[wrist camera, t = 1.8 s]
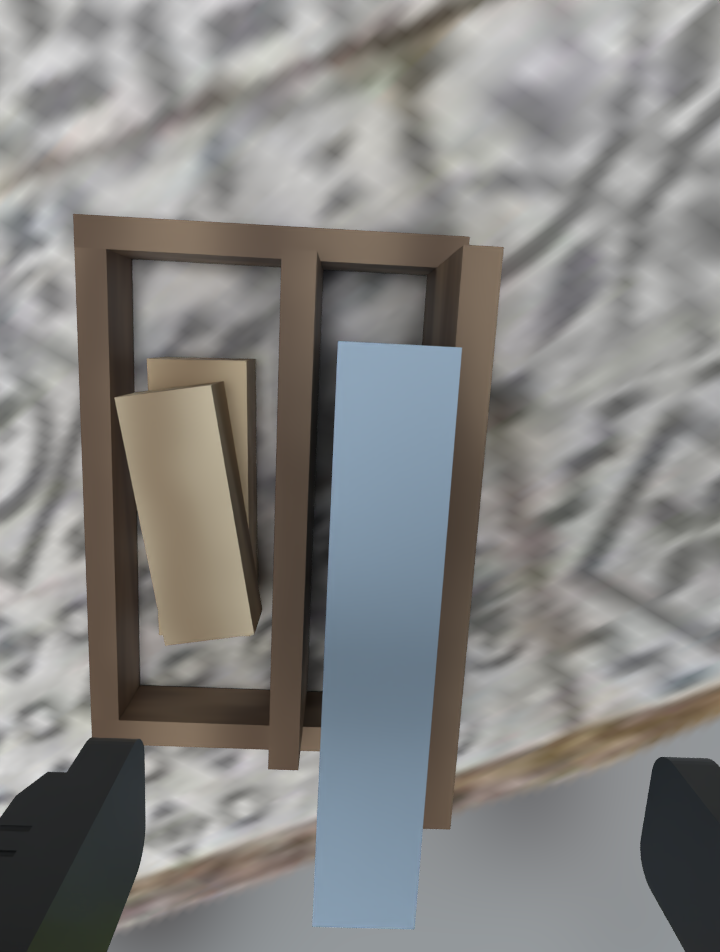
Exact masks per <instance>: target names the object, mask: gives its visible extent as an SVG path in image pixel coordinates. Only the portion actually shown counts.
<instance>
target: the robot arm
mask: <svg viewBox="0 0 720 952" xmlns="http://www.w3.org/2000/svg"><path fill="white" fill-rule="evenodd" d="M144 839H145V762H144V745H143V742H142V740H141V739H127V738H96V737H92V738H90V739H89V740H88V741H87V742H86V743H85V745H84V746H83V748H82V749H81V751H80V753H79V754H78V756H77V757H76V759H75V760H74V762H73V764H72V765H71V767H70V768H69V770H68V771H67V773H64V772H47V773H46V774H44V775H43V776H42V777H40V778H39V779H38V780H36V781H35V782H34V783H32V784H31V785H30V786H28V787H27V788H26V789H24V790H23V791H22V792H20V793H19V794H18V795H16V796H15V798H14V799H13V801H12V802H11V803H10V805H9V806H8V808H7V809H6V810H5V812H4V813H3V815H2V816H1V817H0V952H107V950H108V947H109V945H110V942H111V940H112V937H113V935H114V932H115V929H116V927H117V924H118V922H119V919H120V916H121V914H122V911H123V909H124V906H125V903H126V901H127V898H128V896H129V893H130V890H131V888H132V885H133V883H134V880H135V877H136V875H137V872H138V869H139V865H140V861H141V857H142V852H143V846H144ZM640 844H641V845H640V846H641V847H640V851H641V861H642V867H643V871H644V874H645V878H646V881H647V883H648V885H649V887H650V889H651V891H652V893H653V895H654V896H655V898H656V900H657V902H658V904H659V906H660V907H661V909H662V911H663V913H664V915H665V916H666V918H667V920H668V921H669V923H670V925H671V927H672V929H673V931H674V932H675V934H676V936H677V938H678V939H679V941H680V943H681V945H682V947H683V948H684V950H685V952H720V767H719V766H718V765H717V764H716V763H715V762H714V761H712V760H710V759H707V758H705V759H704V758H677V757H660V758H658V759H657V760H656V762H655V763H654V766H653V769H652V775H651V780H650V787H649V793H648V799H647V805H646V811H645V817H644V823H643V829H642V836H641V843H640Z"/></svg>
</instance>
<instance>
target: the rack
mask: <svg viewBox="0 0 720 952" xmlns="http://www.w3.org/2000/svg"><path fill="white" fill-rule="evenodd" d="M73 220H74V248H75V276H76V304H77V332H78V360H79V388H80V416H81V444H82V471H83V499H84V527H85V555H86V583H87V611H88V639H89V667H90V694H91V722H92V737H96V738H127V739H141V740H142V742H143V745H149V746H179V747H208V748H238V749H267V750H269V760H268V769H278V770H298V767H299V758H300V751H320V741H321V718H322V696H323V692H308V691H307V682H308V656H309V630H310V604H311V578H312V552H313V526H314V500H315V474H316V448H317V422H318V395H319V369H320V343H321V317H322V291H323V270H340V271H358V272H376V273H394V274H411V275H427V283H426V298H425V312H424V327H423V341H422V345H423V346H442V347H461V348H462V355H461V367H460V379H459V391H458V404H457V416H456V428H455V440H454V452H453V465H452V477H451V489H450V501H449V514H448V526H447V538H446V550H445V563H444V575H443V587H442V599H441V611H440V624H439V636H438V648H437V660H436V673H435V685H434V697H433V709H432V722H431V734H430V746H429V758H428V771H427V783H426V795H425V807H424V819H423V829H450V826H451V815H452V804H453V793H454V783H455V772H456V761H457V750H458V739H459V728H460V717H461V706H462V695H463V684H464V673H465V663H466V652H467V641H468V630H469V619H470V608H471V597H472V586H473V575H474V564H475V553H476V543H477V532H478V521H479V510H480V499H481V488H482V477H483V466H484V455H485V444H486V433H487V423H488V412H489V401H490V390H491V379H492V368H493V357H494V346H495V335H496V324H497V313H498V303H499V292H500V281H501V270H502V259H503V248H504V247H493V246H475V245H469V240H470V237H464V236H447V235H430V234H412V233H395V232H377V231H360V230H343V229H325V228H308V227H291V226H273V225H256V224H239V223H221V222H204V221H187V220H169V219H152V218H135V217H117V216H100V215H83V214H73ZM132 259H143V260H161V261H178V262H196V263H214V264H232V265H250V266H268V267H281V293H280V332H279V371H278V410H277V449H276V488H275V527H274V565H273V604H272V643H271V682H270V690H254V689H226V688H199V687H172V686H145V685H140V668H139V615H138V562H137V509H136V501H135V496H134V491H133V486H132V481H131V476H130V471H129V466H128V462H127V457H126V452H125V447H124V442H123V437H122V432H121V428H120V423H119V418H118V413H117V408H116V403H115V397H119V396H123V395H127V394H131V393H134V351H133V298H132Z"/></svg>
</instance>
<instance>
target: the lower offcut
mask: <svg viewBox="0 0 720 952" xmlns="http://www.w3.org/2000/svg"><path fill="white" fill-rule="evenodd" d="M147 373H148V391H150V390H157V389H165V388H173V387H181V386H188V385H196V384H204V383H212V382H219V381H224V386H225V392H226V398H227V404H228V410H229V415H230V421H231V427H232V433H233V439H234V445H235V451H236V457H237V463H238V469H239V475H240V480H241V486H242V492H243V498H244V504H245V510H246V516H247V522H248V528H249V534H250V540H251V545H252V551H253V557H254V563H255V569H256V575H257V581H258V559H257V466H256V374H255V359H229V358H182V357H160V358H149V359H147ZM158 620H159V635H163V632H162V627H161V622H160V618H159V613H158ZM246 636H250V635H246Z"/></svg>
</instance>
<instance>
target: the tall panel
mask: <svg viewBox="0 0 720 952" xmlns="http://www.w3.org/2000/svg"><path fill="white" fill-rule="evenodd" d="M461 355H462V348H461V347H442V346H423V345H404V344H385V343H366V342H347V341H338V352H337V375H336V398H335V421H334V444H333V467H332V489H331V512H330V535H329V558H328V581H327V604H326V627H325V650H324V673H323V696H322V718H321V741H320V764H319V787H318V810H317V833H316V856H315V879H314V902H313V924H312V926H313V927H343V928H381V929H414V928H415V917H416V904H417V892H418V881H419V868H420V856H421V843H422V832H423V819H424V807H425V795H426V783H427V771H428V758H429V746H430V734H431V722H432V709H433V697H434V685H435V673H436V660H437V648H438V636H439V624H440V611H441V599H442V587H443V575H444V563H445V550H446V538H447V526H448V514H449V501H450V489H451V477H452V465H453V452H454V440H455V428H456V416H457V404H458V391H459V379H460V367H461Z"/></svg>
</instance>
